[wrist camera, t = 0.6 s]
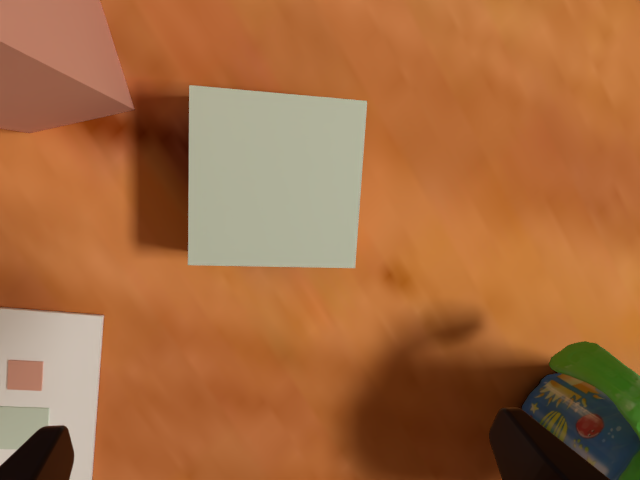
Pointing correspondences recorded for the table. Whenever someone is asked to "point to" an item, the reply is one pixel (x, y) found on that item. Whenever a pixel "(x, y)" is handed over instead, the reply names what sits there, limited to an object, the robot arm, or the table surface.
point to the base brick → (273, 178)
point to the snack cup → (592, 408)
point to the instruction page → (50, 379)
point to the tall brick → (57, 65)
